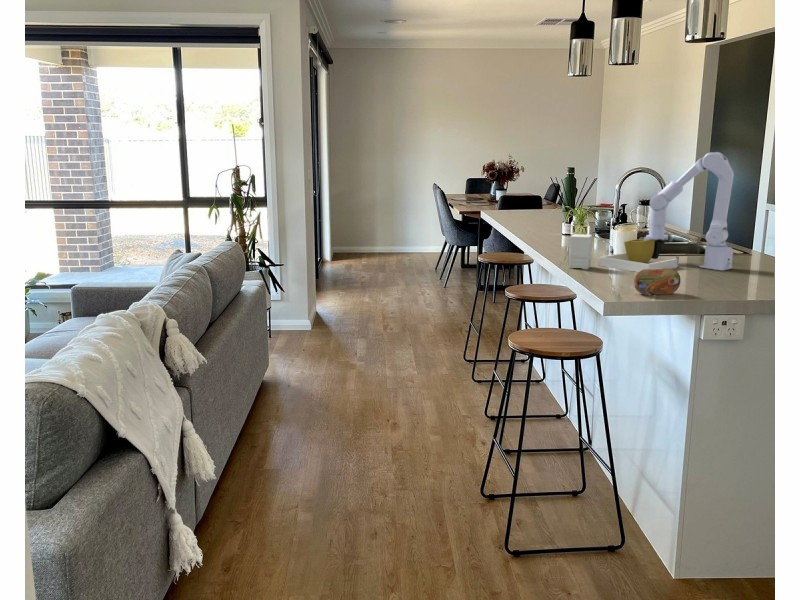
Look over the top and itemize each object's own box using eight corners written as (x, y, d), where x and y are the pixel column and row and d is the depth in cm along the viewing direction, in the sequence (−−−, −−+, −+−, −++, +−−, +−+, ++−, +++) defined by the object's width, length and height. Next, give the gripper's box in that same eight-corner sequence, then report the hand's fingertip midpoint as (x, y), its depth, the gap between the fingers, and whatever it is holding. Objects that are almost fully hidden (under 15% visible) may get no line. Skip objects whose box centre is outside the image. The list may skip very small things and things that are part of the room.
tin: (636, 295, 221) (638, 269, 219) (631, 293, 224) (633, 268, 222) (680, 294, 223) (682, 268, 222) (674, 292, 226) (676, 266, 225)
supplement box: (591, 266, 272) (593, 234, 269) (587, 269, 265) (589, 237, 262) (572, 265, 275) (573, 233, 272) (568, 268, 268) (570, 235, 266)
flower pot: (624, 263, 280) (623, 241, 279) (636, 260, 286) (635, 239, 284) (643, 263, 274) (642, 241, 272) (656, 261, 279) (655, 238, 278)
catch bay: (677, 267, 270) (678, 256, 269) (647, 273, 258) (648, 262, 257) (629, 260, 287) (630, 249, 286) (598, 265, 274) (599, 254, 273)
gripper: (658, 222, 287) (655, 255, 290) (638, 225, 278) (635, 259, 281) (673, 224, 281) (670, 257, 284) (653, 227, 272) (651, 261, 275)
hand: (654, 258), depth 282 cm, fingers closed
